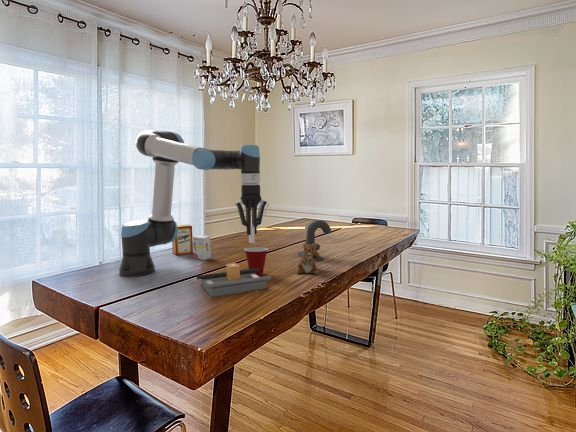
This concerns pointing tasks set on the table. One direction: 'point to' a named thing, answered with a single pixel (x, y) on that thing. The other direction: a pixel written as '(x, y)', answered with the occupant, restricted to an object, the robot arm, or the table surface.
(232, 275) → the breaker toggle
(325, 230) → the faucet
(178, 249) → the orange cardboard box
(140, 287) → the table surface
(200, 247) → the ink box
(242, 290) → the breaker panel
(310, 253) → the stuffed squirrel
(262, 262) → the plastic cup
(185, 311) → the table surface
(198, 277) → the grey tray
